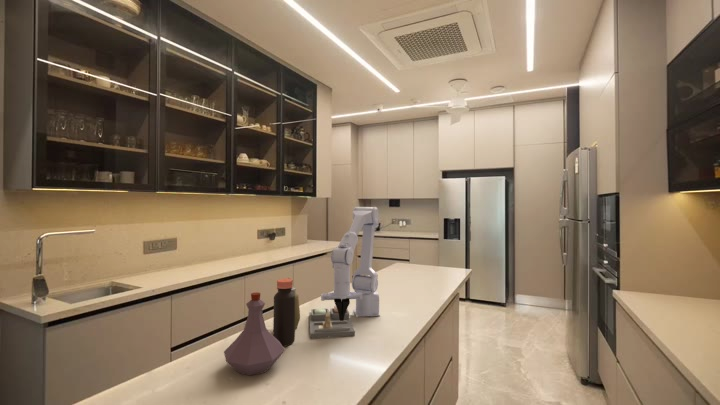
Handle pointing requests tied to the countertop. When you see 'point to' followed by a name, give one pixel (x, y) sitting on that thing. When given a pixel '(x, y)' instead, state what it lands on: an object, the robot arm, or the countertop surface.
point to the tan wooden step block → (327, 321)
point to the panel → (337, 328)
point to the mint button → (319, 311)
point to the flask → (254, 343)
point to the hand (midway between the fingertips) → (341, 319)
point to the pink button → (335, 310)
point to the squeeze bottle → (296, 307)
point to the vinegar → (284, 313)
